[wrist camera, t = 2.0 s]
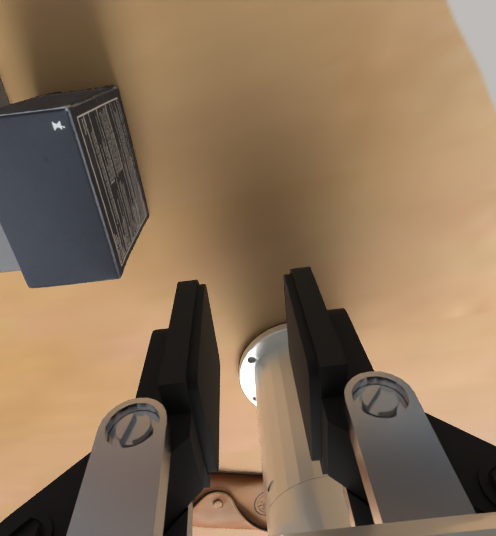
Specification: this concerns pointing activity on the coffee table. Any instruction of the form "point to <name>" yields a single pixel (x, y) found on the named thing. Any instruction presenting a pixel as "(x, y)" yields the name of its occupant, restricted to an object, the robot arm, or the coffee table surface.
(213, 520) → the sunglasses case
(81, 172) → the small box
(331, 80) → the coffee table surface
